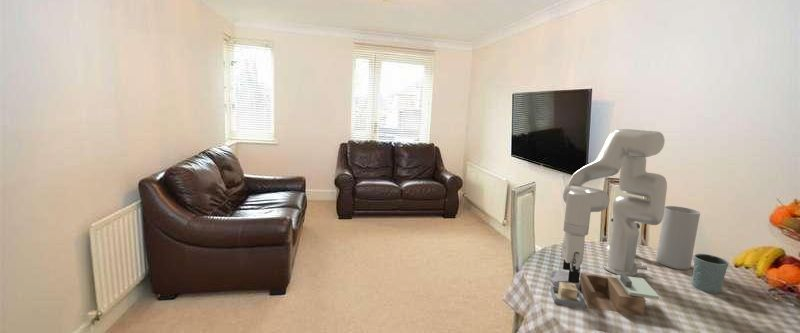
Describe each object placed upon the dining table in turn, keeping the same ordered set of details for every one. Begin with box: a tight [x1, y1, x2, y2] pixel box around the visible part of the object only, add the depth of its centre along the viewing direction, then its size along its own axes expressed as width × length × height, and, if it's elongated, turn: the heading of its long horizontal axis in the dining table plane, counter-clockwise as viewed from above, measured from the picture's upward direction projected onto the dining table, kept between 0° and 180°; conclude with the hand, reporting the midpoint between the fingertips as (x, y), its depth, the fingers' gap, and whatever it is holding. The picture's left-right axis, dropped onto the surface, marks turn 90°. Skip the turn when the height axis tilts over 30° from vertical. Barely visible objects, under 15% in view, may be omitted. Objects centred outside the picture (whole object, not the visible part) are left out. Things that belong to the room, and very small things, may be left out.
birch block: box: [557, 282, 578, 301], centre depth 128 cm, size 5×5×5 cm
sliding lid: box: [615, 274, 660, 300], centre depth 126 cm, size 8×14×3 cm, turn 166°
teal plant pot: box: [691, 253, 730, 294], centre depth 143 cm, size 10×10×12 cm
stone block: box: [549, 269, 581, 291], centre depth 141 cm, size 12×5×10 cm
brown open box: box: [579, 272, 647, 317], centre depth 128 cm, size 16×15×6 cm
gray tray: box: [549, 285, 586, 309], centre depth 128 cm, size 9×9×2 cm
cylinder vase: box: [655, 205, 701, 270], centre depth 164 cm, size 12×12×25 cm
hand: (570, 275), depth 127 cm, fingers open, 9 cm apart
